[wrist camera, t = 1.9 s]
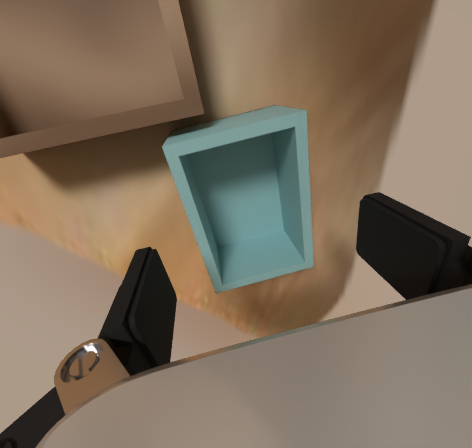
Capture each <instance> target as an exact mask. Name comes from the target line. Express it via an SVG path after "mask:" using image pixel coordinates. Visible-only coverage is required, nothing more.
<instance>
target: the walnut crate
mask: <svg viewBox="0 0 472 448" xmlns="http://www.w3.org/2000/svg"><path fill="white" fill-rule="evenodd" d="M201 114H204V110H203V105H202V101H201V97H200V92H199V88H198V84H197V79H196V75H195V71H194V66H193V62H192V58H191V53H190V49H189V44H188V40H187V36H186V31H185V27H184V23H183V18H182V14H181V10H180V5H179V1H178V0H0V158H3V157H8V156H12V155H17V154H22V153H26V152H31V151H35V150H40V149H45V148H49V147H54V146H58V145H63V144H68V143H72V142H77V141H81V140H86V139H91V138H95V137H100V136H104V135H109V134H114V133H118V132H123V131H127V130H132V129H137V128H141V127H146V126H150V125H155V124H159V123H164V122H169V121H173V120H178V119H182V118H187V117H192V116H196V115H201Z"/></svg>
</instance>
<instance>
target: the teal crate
mask: <svg viewBox="0 0 472 448" xmlns="http://www.w3.org/2000/svg"><path fill="white" fill-rule="evenodd" d="M162 149H163V151H164V154H165V157H166V160H167V162H168V165H169V168H170V170H171V173H172V176H173V178H174V181H175V184H176V187H177V189H178V192H179V195H180V197H181V200H182V203H183V205H184V208H185V211H186V213H187V216H188V219H189V222H190V224H191V227H192V230H193V232H194V235H195V238H196V240H197V243H198V246H199V249H200V251H201V254H202V257H203V259H204V262H205V265H206V267H207V270H208V273H209V276H210V278H211V281H212V284H213V286H214V289H215V292H216V293H219V292H223V291H227V290H230V289H234V288H238V287H241V286H245V285H249V284H252V283H256V282H260V281H263V280H267V279H271V278H274V277H278V276H282V275H286V274H289V273H293V272H297V271H300V270H304V269H308V268H311V267H314V260H313V239H312V218H311V196H310V175H309V154H308V133H307V112H306V110H302V109H296V108H289V107H283V106H277V105H274V106H270V107H266V108H262V109H258V110H254V111H250V112H246V113H242V114H238V115H235V116H231V117H227V118H223V119H219V120H215V121H211V122H207V123H203V124H199V125H195V126H191V127H187V128H183V129H179V130H175V131H171V133H170V135H169V136H168V138H167V139H166V141H165V143H164V144H163V146H162Z"/></svg>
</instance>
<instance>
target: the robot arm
mask: <svg viewBox="0 0 472 448" xmlns="http://www.w3.org/2000/svg"><path fill="white" fill-rule="evenodd" d="M470 238H471V237H469V236H467V235H465V234H463V233H461V232H459V231H457V230H455V229H453V228H451V227H449V226H447V225H445V224H443V223H441V222H439V221H437V220H435V219H433V218H431V217H429V216H427V215H424V214H423V213H421V212H418V211H416V210H414V209H412V208H410V207H408V206H406V205H404V204H402V203H400V202H398V201H396V200H394V199H392V198H390V197H388V196H386V195H384V194H382V193H379V192H377V193H373V194H369V195H365V196H364V197H363V199H362V200H361V201H360V207H359V219H358V231H357V244H356V250H357V253H358V255H359V256H360V257H361V258H362V259H364V260H365V261H366V262H367V263H368V264H369V265H370V266H371V267H372V268H373V269H374V270H375V271H376V272H377V273H378V274H379V275H380V276H382V277H383V278H384V279H385V280H386V281H387V282H388V283H389V284H390V285H391V286H392V287H393V288H394V289H395V290H396V291H397V292H399V293H400V294H401V295H402V296H403V297H404V298H405V299H406V300H405V301H401V302H397V303H393V304H389V305H385V306H381V307H377V308H373V309H369V310H365V311H361V312H357V313H353V314H350V315H346V316H342V317H339V318H334V319H330V320H327V321H323V322H319V323H315V324H311V325H307V326H303V327H300V328H296V329H292V330H288V331H284V332H280V333H277V334H273V335H269V336H265V337H262V338H258V339H254V340H250V341H247V342H243V343H239V344H235V345H232V346H228V347H224V348H220V349H217V350H213V351H209V352H206V353H202V354H199V355H196V356H192V357H188V358H184V359H181V360H178V361H174V362H170V358H171V349H172V340H173V330H174V321H175V312H176V311H175V310H176V302H177V298H176V293H175V291H174V288H173V286H172V284H171V282H170V279H169V277H168V275H167V272H166V270H165V268H164V265H163V263H162V261H161V259H160V256H159V254H158V252H157V250H156V249H153V250H152V248H151V247H147V248H143V249H138V250H136V251H135V254H134V256H133V259H132V261H131V263H130V266H129V268H128V270H127V273H126V275H125V278H124V280H123V282H122V285H121V286H120V287H119V289H118V292H117V294H116V296H115V299H114V301H113V304H112V306H111V308H110V311H109V313H108V315H107V318H106V320H105V322H104V325H103V327H102V329H101V332H100V334H99V336H98V339H92V340H89V341H86V342H84V343H82V344H80V345H79V346H77V347H76V348H74V349H73V350H72V351H71V352H70V353H69V354H67V356H66V357H65V358H64V359H63V360H62V361H61V363H60V364H59V366H58V368H57V370H56V372H55V376H54V384H55V387H54V388H53V389H51V391H49V392H48V393H47V394H46V395H45V396H43V397H42V398H41V399H40V400H39V401H38V402H36V404H34V405H33V406H32V407H31V408H30V409H28V410H27V411H26V412H25V413H24V414H23V415H21V416H20V417H19V418H18V419H17V420H16V421H14V422H13V423H12V424H11V425H10V426H9V427H8V428H6V429H5V430H4V431H3V432H2V433H1V434H0V448H472V247H470V246H468V243H469V240H470Z"/></svg>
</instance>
